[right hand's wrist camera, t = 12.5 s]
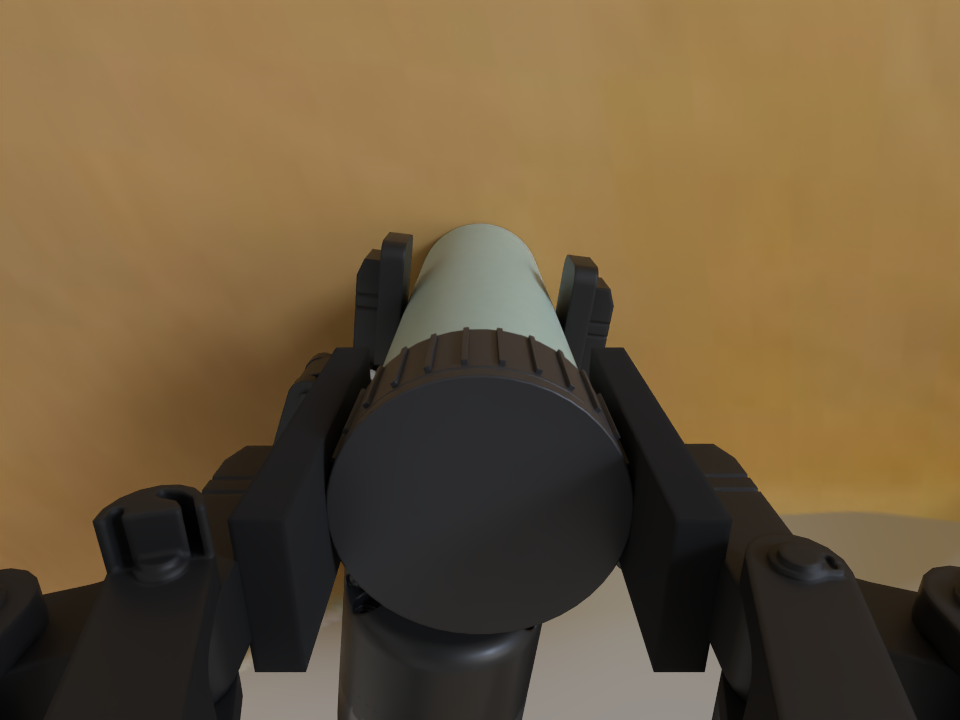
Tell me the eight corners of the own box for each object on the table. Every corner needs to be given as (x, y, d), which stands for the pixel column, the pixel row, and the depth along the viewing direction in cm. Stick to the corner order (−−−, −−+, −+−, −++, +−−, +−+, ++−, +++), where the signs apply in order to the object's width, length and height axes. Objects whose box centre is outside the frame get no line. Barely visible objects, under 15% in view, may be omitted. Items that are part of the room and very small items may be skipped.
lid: (491, 265, 11) (493, 300, 9) (664, 457, 12) (703, 527, 10) (293, 440, 12) (254, 507, 10) (471, 595, 14) (470, 682, 12)
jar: (484, 197, 24) (490, 314, 9) (562, 286, 25) (675, 510, 11) (396, 278, 25) (282, 494, 11) (475, 360, 26) (470, 650, 12)
